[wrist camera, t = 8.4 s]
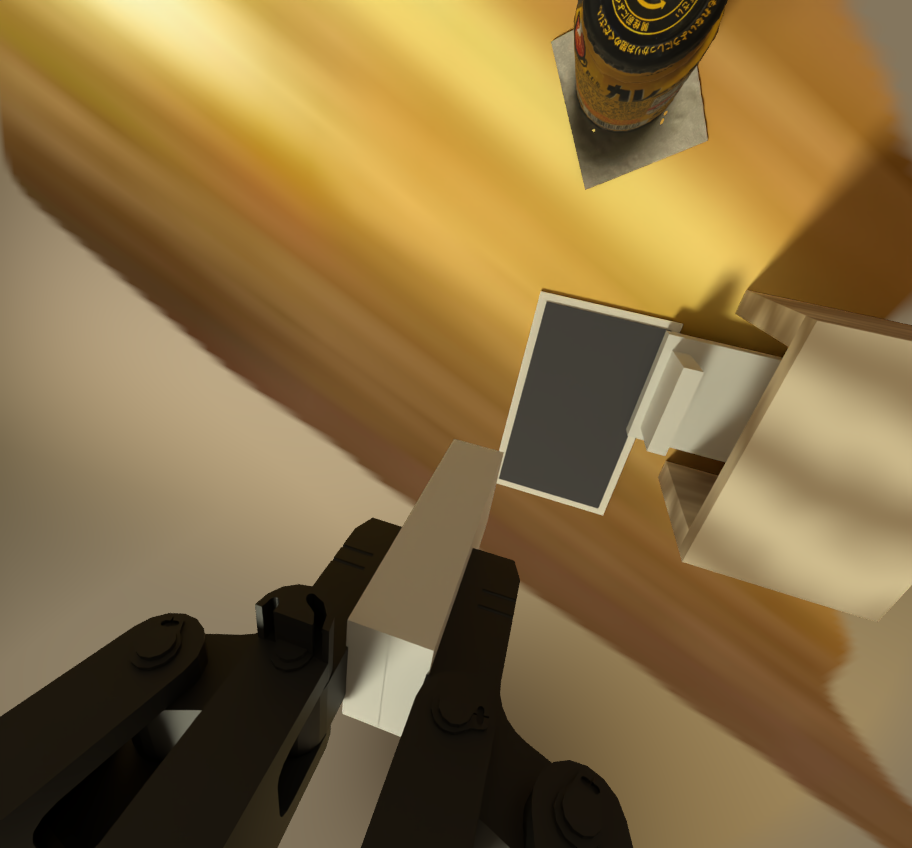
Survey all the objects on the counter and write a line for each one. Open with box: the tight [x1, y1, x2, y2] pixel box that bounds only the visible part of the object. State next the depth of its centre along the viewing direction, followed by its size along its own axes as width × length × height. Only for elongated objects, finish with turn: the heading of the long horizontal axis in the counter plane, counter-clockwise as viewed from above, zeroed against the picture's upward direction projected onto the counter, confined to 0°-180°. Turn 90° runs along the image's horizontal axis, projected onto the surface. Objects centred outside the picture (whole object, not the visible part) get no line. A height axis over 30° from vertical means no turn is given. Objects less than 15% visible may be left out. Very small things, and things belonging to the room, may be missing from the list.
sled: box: [626, 330, 783, 463], centre depth 28 cm, size 8×25×7 cm, turn 79°
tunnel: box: [658, 290, 912, 622], centre depth 27 cm, size 15×11×10 cm
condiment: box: [551, 0, 727, 190], centre depth 22 cm, size 7×8×12 cm
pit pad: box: [497, 291, 683, 515], centre depth 36 cm, size 17×10×1 cm, turn 169°
